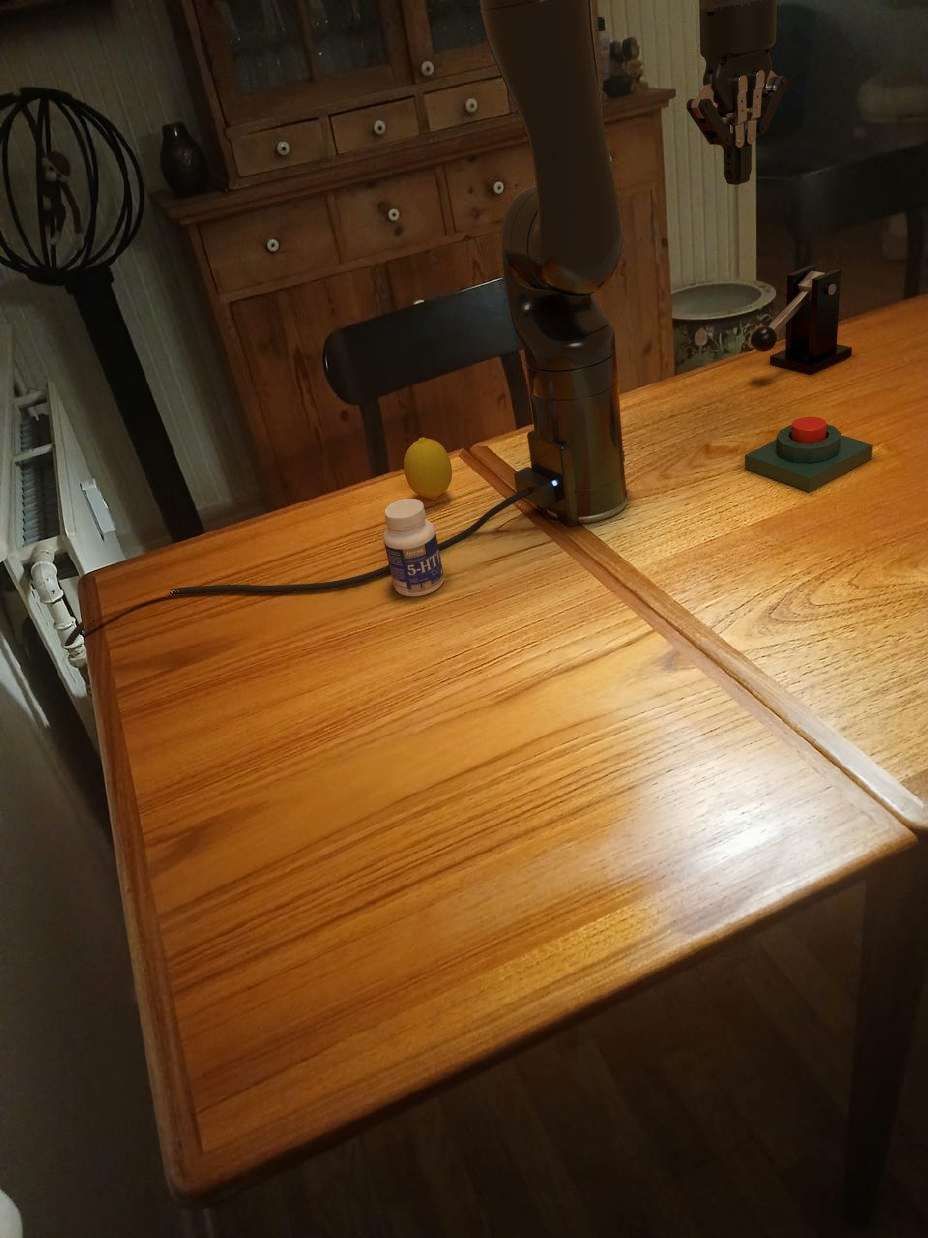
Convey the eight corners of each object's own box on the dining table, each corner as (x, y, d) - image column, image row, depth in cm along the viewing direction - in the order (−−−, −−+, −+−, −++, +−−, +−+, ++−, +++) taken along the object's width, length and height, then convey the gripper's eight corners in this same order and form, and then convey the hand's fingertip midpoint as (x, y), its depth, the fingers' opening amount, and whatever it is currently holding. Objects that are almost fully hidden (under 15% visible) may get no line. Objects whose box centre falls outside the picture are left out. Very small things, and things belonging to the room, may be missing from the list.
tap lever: (768, 359, 123) (761, 340, 121) (750, 354, 125) (742, 335, 123) (833, 290, 124) (827, 270, 122) (813, 286, 127) (807, 267, 124)
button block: (809, 492, 101) (810, 462, 99) (744, 468, 107) (744, 439, 105) (871, 458, 104) (874, 429, 102) (805, 437, 111) (806, 409, 109)
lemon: (435, 485, 117) (423, 424, 112) (466, 495, 113) (455, 433, 109) (402, 504, 114) (388, 443, 109) (433, 515, 110) (420, 452, 106)
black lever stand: (810, 374, 126) (814, 284, 119) (769, 364, 131) (771, 277, 124) (851, 355, 129) (857, 266, 122) (809, 346, 134) (813, 260, 127)
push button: (810, 448, 102) (811, 433, 101) (783, 439, 105) (784, 424, 104) (833, 436, 103) (834, 421, 102) (806, 428, 106) (807, 413, 105)
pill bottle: (415, 603, 95) (398, 526, 90) (384, 587, 99) (366, 512, 94) (455, 579, 98) (440, 503, 93) (423, 564, 101) (407, 490, 96)
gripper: (755, -10, 101) (754, 166, 110) (662, 12, 96) (669, 195, 105) (813, -17, 95) (806, 170, 105) (717, 6, 90) (719, 200, 100)
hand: (737, 182), depth 105 cm, fingers closed
